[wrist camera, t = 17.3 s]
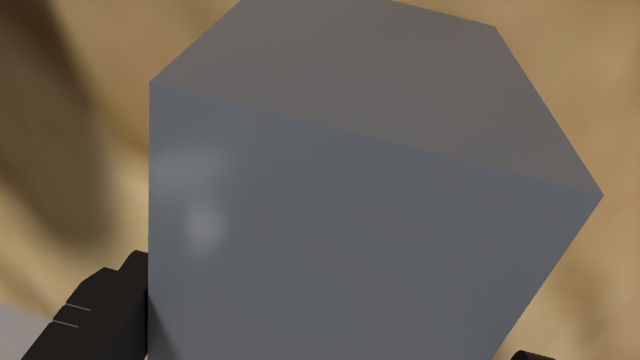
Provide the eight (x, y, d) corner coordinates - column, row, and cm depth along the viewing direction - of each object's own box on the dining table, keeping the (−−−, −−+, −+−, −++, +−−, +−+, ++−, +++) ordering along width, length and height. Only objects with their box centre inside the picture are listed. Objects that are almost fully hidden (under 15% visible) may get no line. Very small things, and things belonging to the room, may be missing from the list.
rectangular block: (494, 26, 14) (603, 195, 7) (404, 241, 19) (412, 471, 12) (273, -30, 14) (149, 81, 7) (240, 200, 19) (147, 407, 12)
